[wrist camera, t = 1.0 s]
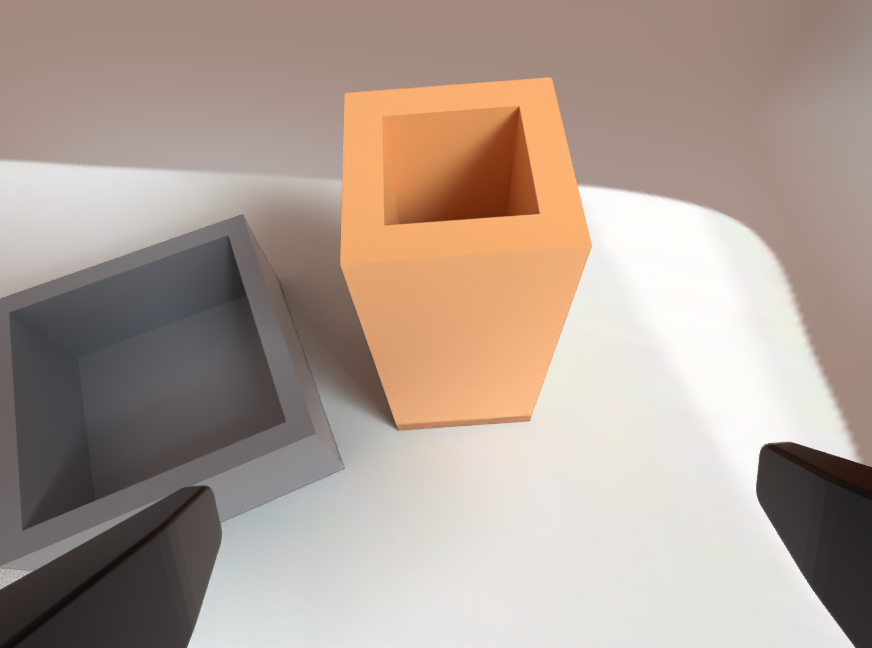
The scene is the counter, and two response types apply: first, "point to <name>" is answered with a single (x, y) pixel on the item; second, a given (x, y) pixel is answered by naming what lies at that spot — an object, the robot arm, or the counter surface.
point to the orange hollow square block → (460, 245)
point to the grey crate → (152, 392)
